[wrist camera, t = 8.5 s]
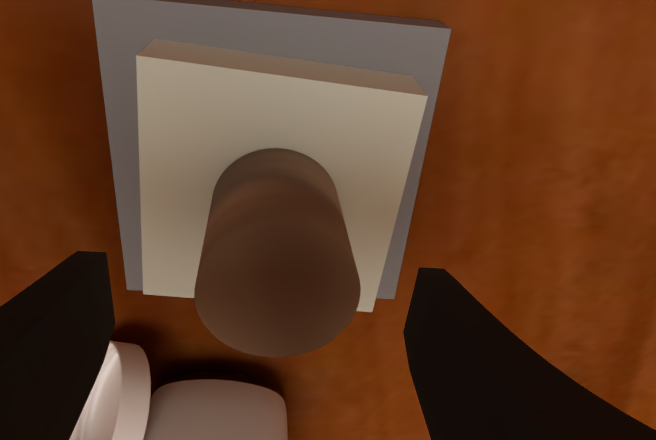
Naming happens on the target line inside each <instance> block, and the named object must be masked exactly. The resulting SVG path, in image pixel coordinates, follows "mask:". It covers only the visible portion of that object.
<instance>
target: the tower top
mask: <svg viewBox="0 0 656 440" xmlns="http://www.w3.org/2000/svg"><path fill="white" fill-rule="evenodd" d="M136 69H137V103H138V137H139V171H140V205H141V238H142V272H143V294H147V295H160V296H173V297H185V298H194V289H195V283H196V278H197V273H198V268H199V262H200V257H201V252H202V247H203V242H204V237H205V232H206V226H207V221H208V216H209V211H210V206H211V201H212V195H213V191H214V188H215V185H216V183H217V181H218V179H219V177H220V176H221V174H222V173H223V172H224V170H225V169H226V168H227V167H228V166H229V165H230V164H232V163H233V162H234V161H235V160H237V159H239V158H240V157H242V156H244V155H246V154H248V153H251V152H254V151H257V150H262V149H268V148H281V149H289V150H293V151H297V152H299V153H302V154H304V155H306V156H308V157H310V158H312V159H313V160H315V161H316V162H318V163H319V164H320V165H321V166H322V167H323V168H324V169H325V170H326V171H327V173H328V174H329V176H330V177H331V179H332V180H333V183H334V185H335V188H336V191H337V195H338V199H339V202H340V206H341V210H342V214H343V218H344V222H345V225H346V229H347V233H348V237H349V241H350V245H351V248H352V252H353V256H354V260H355V264H356V267H357V271H358V275H359V279H360V287H361V291H360V300H359V304H358V307H357V310H356V311H364V312H372V311H373V307H374V303H375V299H376V295H377V292H378V288H379V284H380V280H381V276H382V272H383V268H384V264H385V261H386V257H387V253H388V249H389V245H390V241H391V237H392V233H393V230H394V226H395V222H396V218H397V214H398V210H399V206H400V203H401V199H402V195H403V191H404V187H405V183H406V179H407V175H408V172H409V168H410V164H411V160H412V156H413V152H414V148H415V144H416V141H417V137H418V133H419V129H420V125H421V121H422V117H423V113H424V110H425V106H426V102H427V98H428V96H427V94H426V93H425V92H424V90H423V89H422V88H421V87H420V85H419V84H418V83H417V82H416V80H415V79H414V78H413V77H412V76H411V75H404V74H397V73H391V72H384V71H377V70H370V69H363V68H356V67H349V66H342V65H335V64H328V63H321V62H315V61H308V60H301V59H294V58H287V57H280V56H273V55H266V54H259V53H252V52H245V51H238V50H232V49H225V48H218V47H211V46H204V45H197V44H190V43H183V42H176V41H169V40H162V39H154V40H153V41H152V42H151V43H149V44H148V45H147V46H146V47H145V48H144V49H143V50H142V51H140V52H139V53H138V54H137V55H136Z"/></svg>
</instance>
